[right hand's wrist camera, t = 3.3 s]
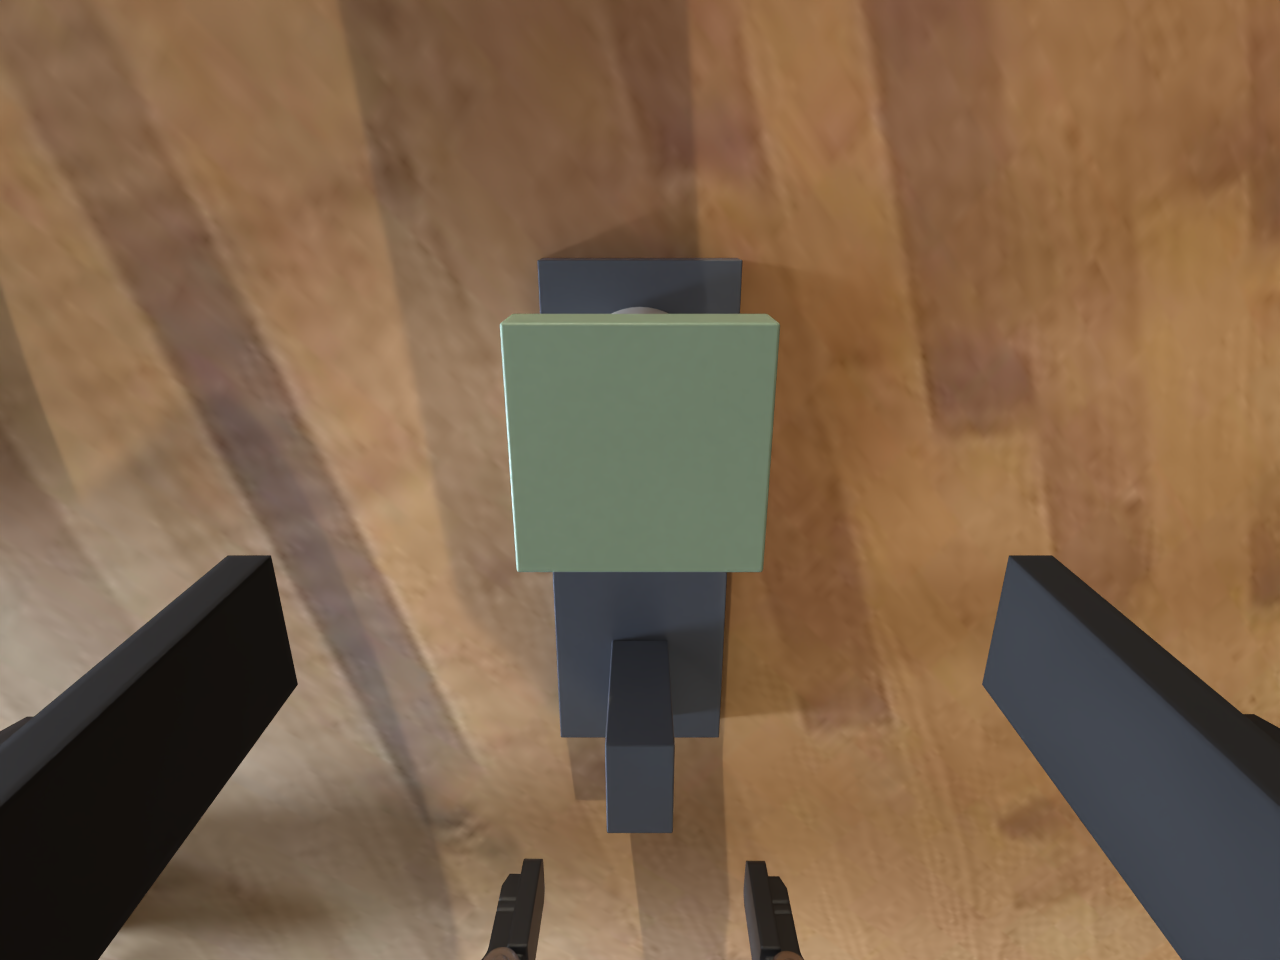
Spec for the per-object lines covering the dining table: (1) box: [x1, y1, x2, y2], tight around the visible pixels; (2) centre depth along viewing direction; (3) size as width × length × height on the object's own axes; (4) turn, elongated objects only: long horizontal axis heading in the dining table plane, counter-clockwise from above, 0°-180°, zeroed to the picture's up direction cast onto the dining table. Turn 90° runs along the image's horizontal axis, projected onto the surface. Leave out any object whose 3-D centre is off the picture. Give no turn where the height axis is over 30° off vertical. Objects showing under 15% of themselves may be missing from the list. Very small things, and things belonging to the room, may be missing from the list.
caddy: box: [538, 258, 742, 833], centre depth 31 cm, size 9×26×12 cm, turn 0°
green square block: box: [500, 314, 780, 572], centre depth 23 cm, size 8×8×4 cm
